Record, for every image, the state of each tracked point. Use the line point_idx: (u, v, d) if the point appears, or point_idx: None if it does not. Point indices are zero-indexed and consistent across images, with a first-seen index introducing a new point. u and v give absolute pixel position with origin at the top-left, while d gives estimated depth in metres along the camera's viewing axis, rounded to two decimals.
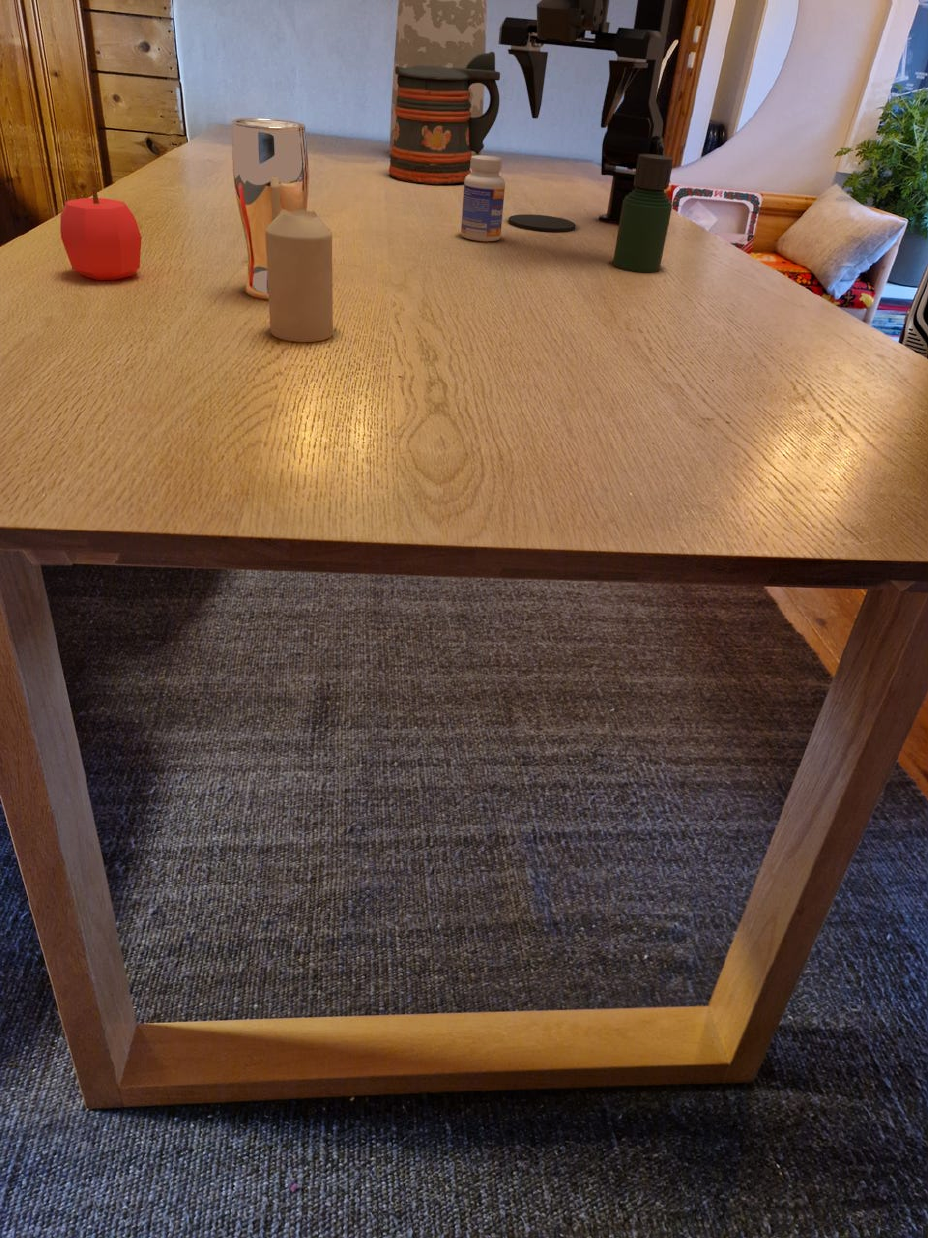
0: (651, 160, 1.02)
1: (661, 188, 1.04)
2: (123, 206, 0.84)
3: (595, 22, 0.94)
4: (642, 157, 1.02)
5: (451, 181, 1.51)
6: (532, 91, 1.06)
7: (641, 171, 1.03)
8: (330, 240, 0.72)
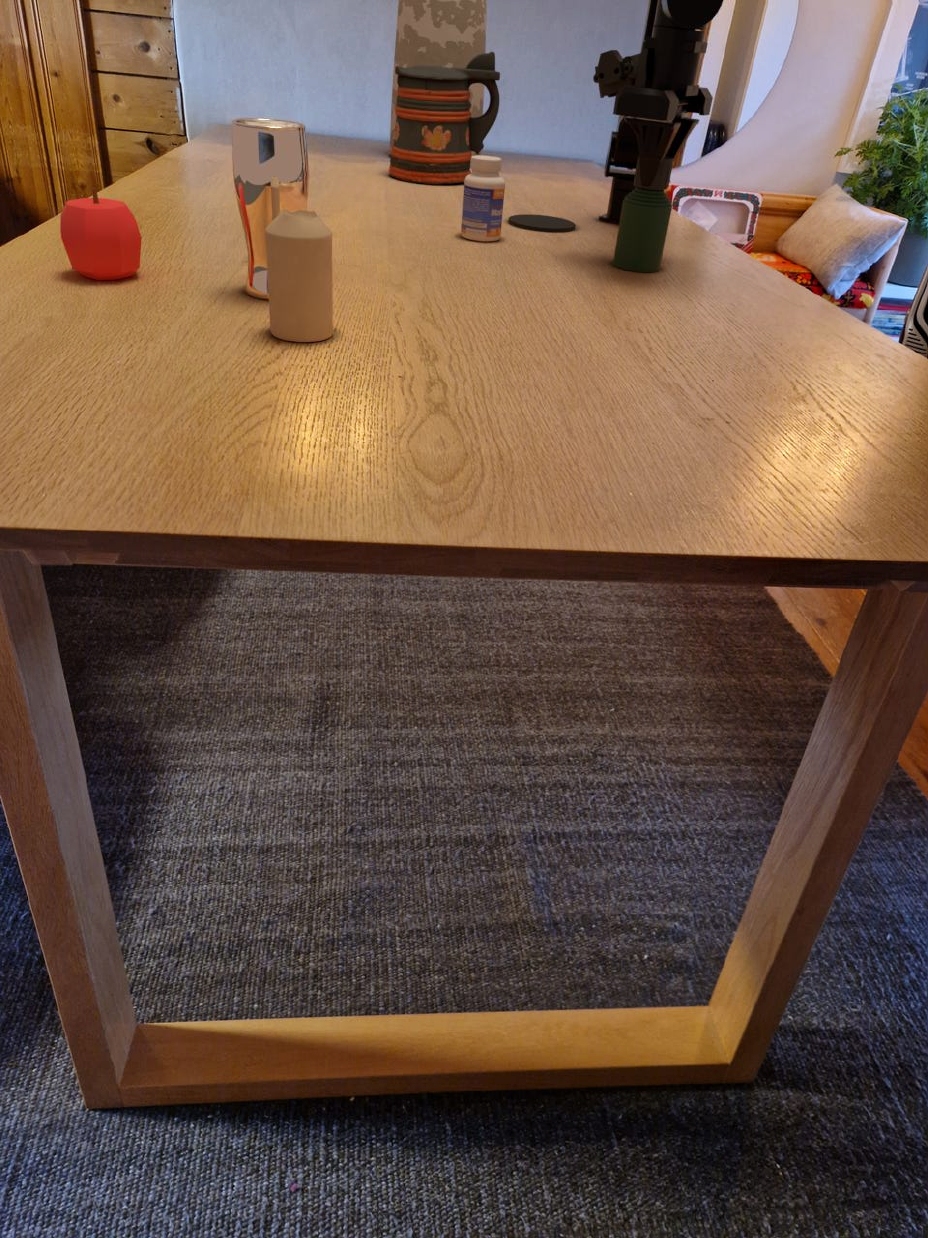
0: None
1: (661, 189, 1.04)
2: (123, 206, 0.84)
3: (603, 78, 0.98)
4: None
5: (451, 181, 1.51)
6: None
7: None
8: (330, 240, 0.72)
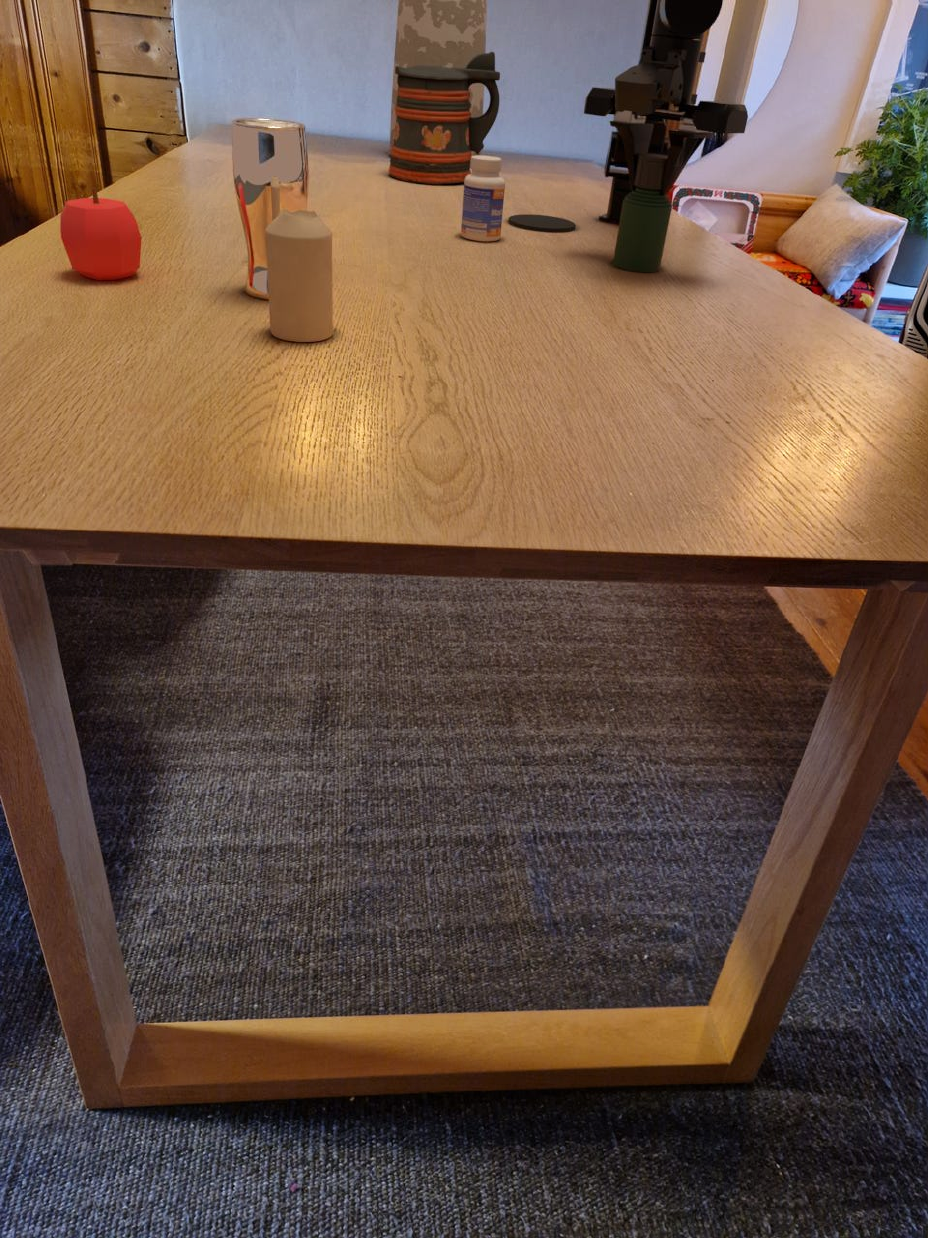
0: None
1: None
2: (123, 206, 0.84)
3: (672, 96, 0.93)
4: (664, 159, 1.01)
5: (451, 181, 1.51)
6: (632, 163, 1.04)
7: (663, 173, 1.02)
8: (330, 240, 0.72)
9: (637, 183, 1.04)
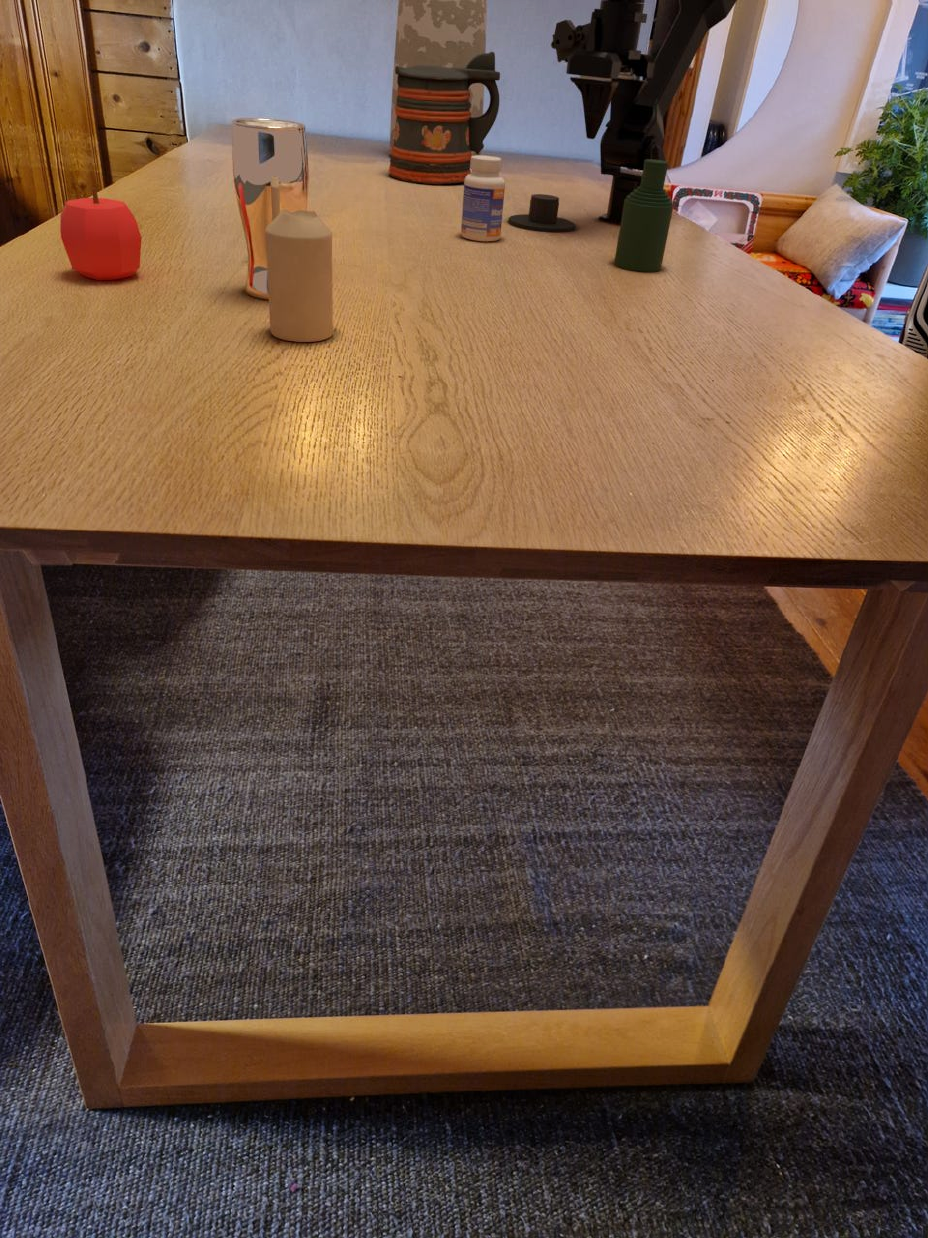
0: (532, 198, 1.26)
1: (539, 222, 1.26)
2: (123, 206, 0.84)
3: (559, 44, 1.16)
4: None
5: (451, 181, 1.51)
6: None
7: None
8: (330, 240, 0.72)
9: None
